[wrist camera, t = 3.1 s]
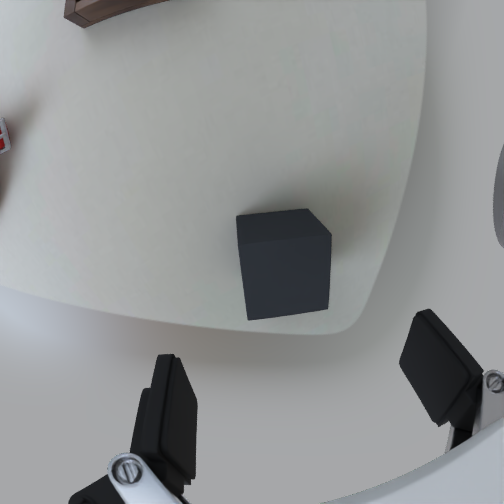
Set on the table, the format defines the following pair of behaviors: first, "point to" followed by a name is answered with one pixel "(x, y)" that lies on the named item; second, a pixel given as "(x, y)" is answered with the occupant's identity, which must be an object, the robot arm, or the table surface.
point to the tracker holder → (4, 137)
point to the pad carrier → (100, 9)
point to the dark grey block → (284, 263)
